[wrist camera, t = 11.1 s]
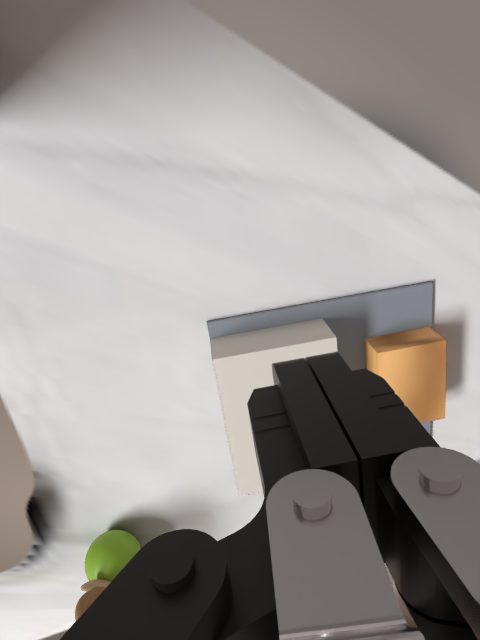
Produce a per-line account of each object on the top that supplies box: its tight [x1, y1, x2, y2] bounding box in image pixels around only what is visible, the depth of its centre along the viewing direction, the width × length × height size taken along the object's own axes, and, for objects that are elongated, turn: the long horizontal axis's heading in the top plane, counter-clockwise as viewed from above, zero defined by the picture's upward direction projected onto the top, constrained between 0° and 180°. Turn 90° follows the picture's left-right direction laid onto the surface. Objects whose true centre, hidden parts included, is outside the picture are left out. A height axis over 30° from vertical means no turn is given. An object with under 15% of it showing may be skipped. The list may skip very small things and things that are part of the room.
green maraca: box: [75, 530, 141, 621], centre depth 41 cm, size 5×6×12 cm
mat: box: [207, 281, 433, 434], centre depth 42 cm, size 20×17×1 cm
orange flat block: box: [365, 327, 447, 423], centre depth 40 cm, size 6×8×3 cm
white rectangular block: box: [210, 319, 337, 496], centre depth 40 cm, size 10×14×4 cm
